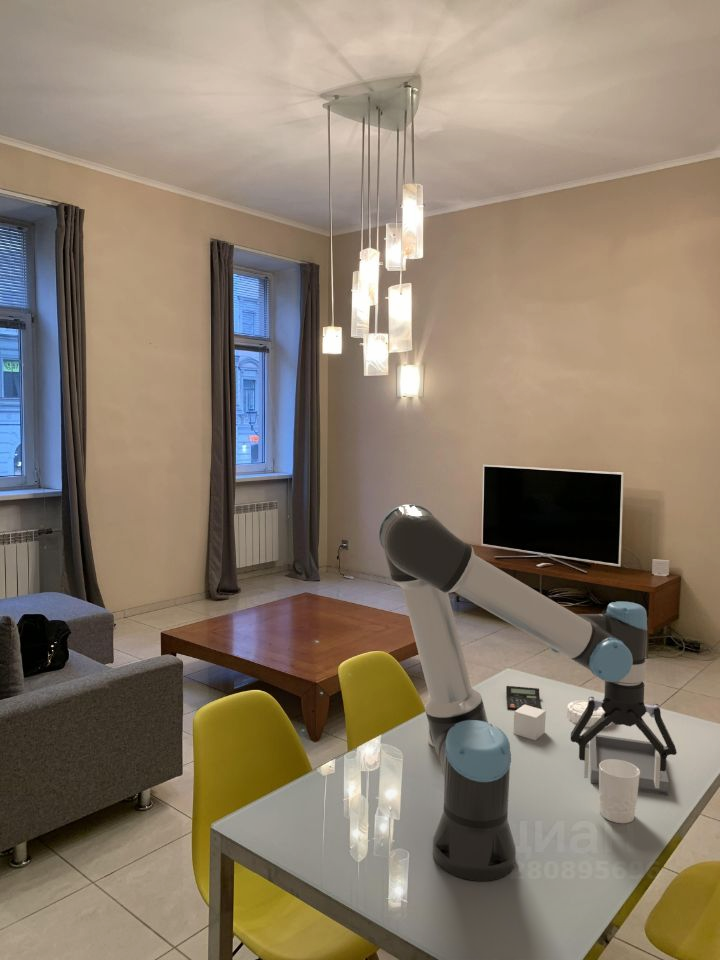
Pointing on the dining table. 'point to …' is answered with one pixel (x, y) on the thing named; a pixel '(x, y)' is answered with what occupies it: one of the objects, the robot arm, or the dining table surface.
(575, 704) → the mooncake
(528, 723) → the white cube
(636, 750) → the tray
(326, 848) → the dining table surface
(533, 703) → the calculator
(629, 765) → the white cup
